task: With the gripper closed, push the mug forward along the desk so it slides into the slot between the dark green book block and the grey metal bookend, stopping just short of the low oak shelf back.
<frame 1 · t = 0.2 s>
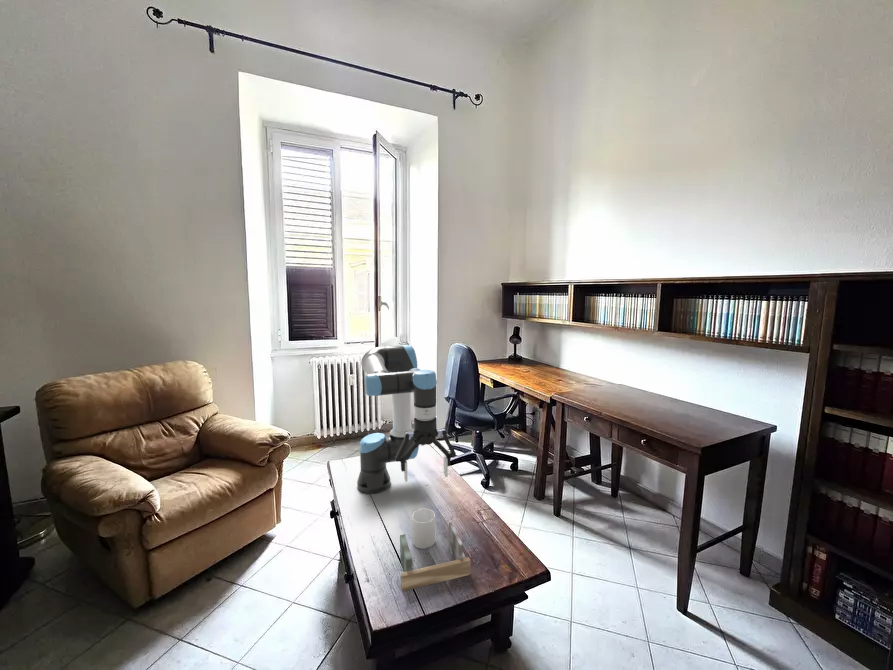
hand: (426, 477, 123), 27 cm above the table, fingers open, 13 cm apart
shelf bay: (430, 564, 120), on the table
mug: (421, 539, 133), on the table
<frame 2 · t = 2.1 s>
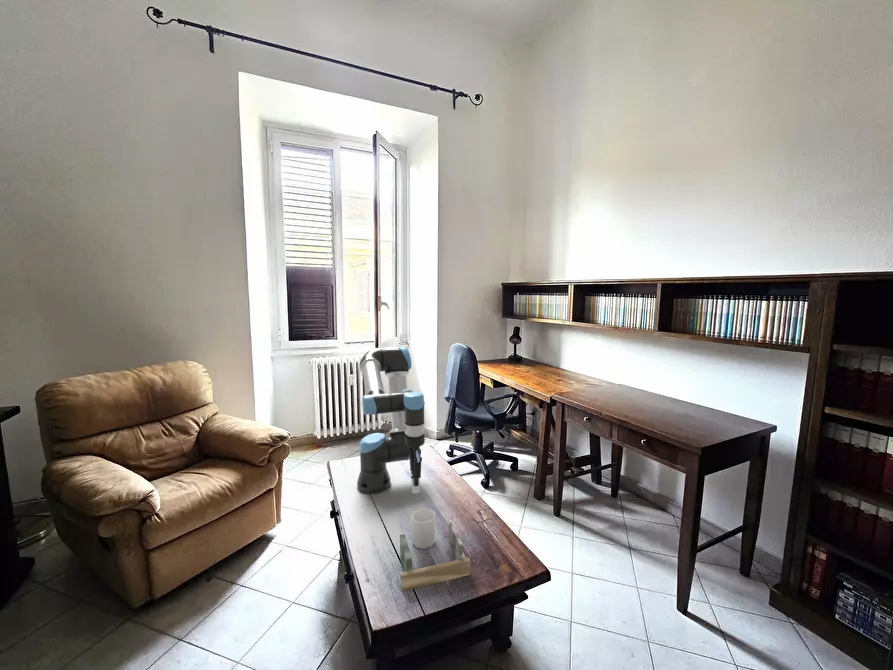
hand: (415, 492, 140), 13 cm above the table, fingers closed
nothing on the table moved.
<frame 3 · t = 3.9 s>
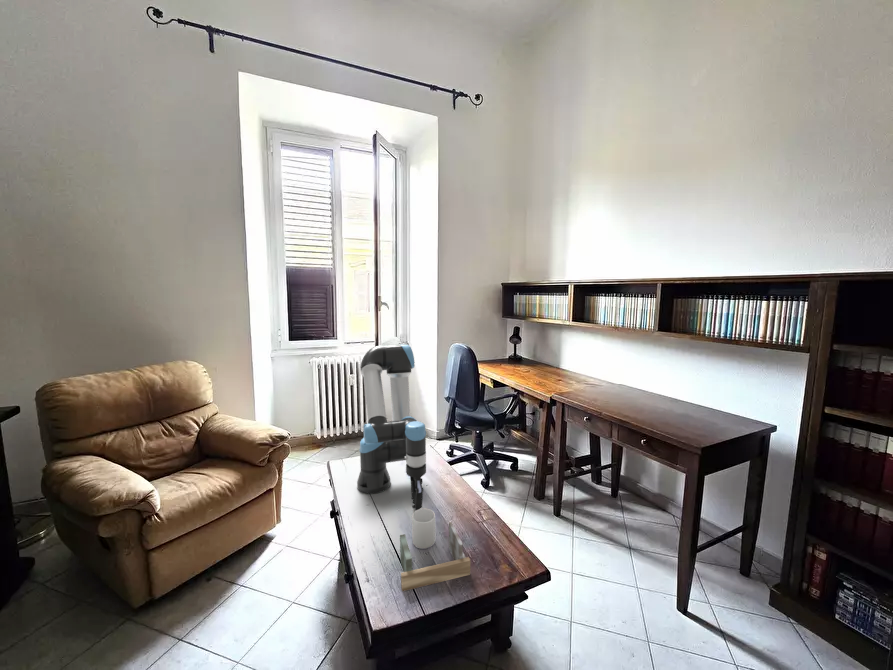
hand: (417, 520, 140), 2 cm above the table, fingers closed
mug: (421, 539, 133), on the table, touching gripper
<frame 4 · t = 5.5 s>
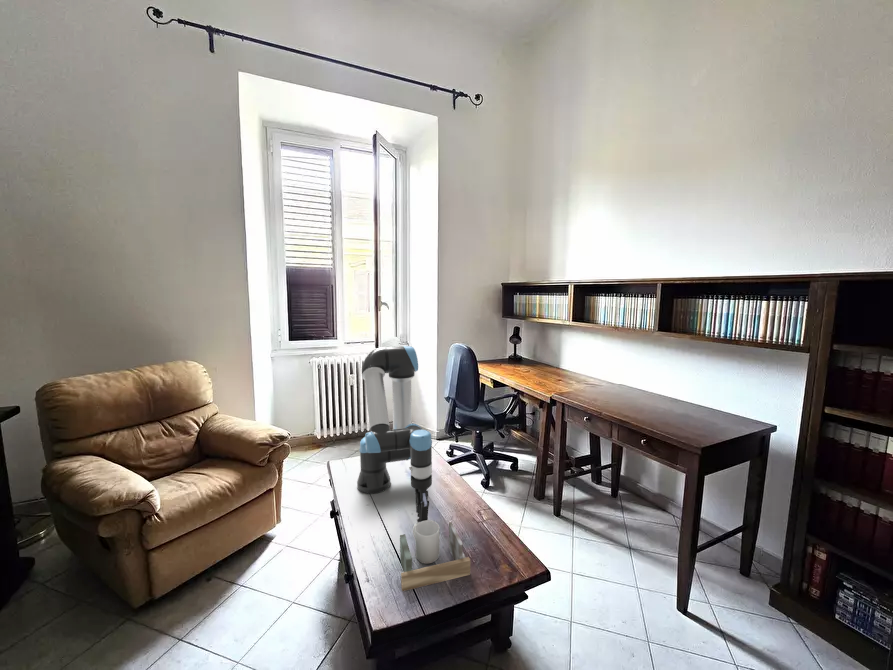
hand: (422, 535, 132), 2 cm above the table, fingers closed
mug: (424, 553, 126), on the table, touching gripper
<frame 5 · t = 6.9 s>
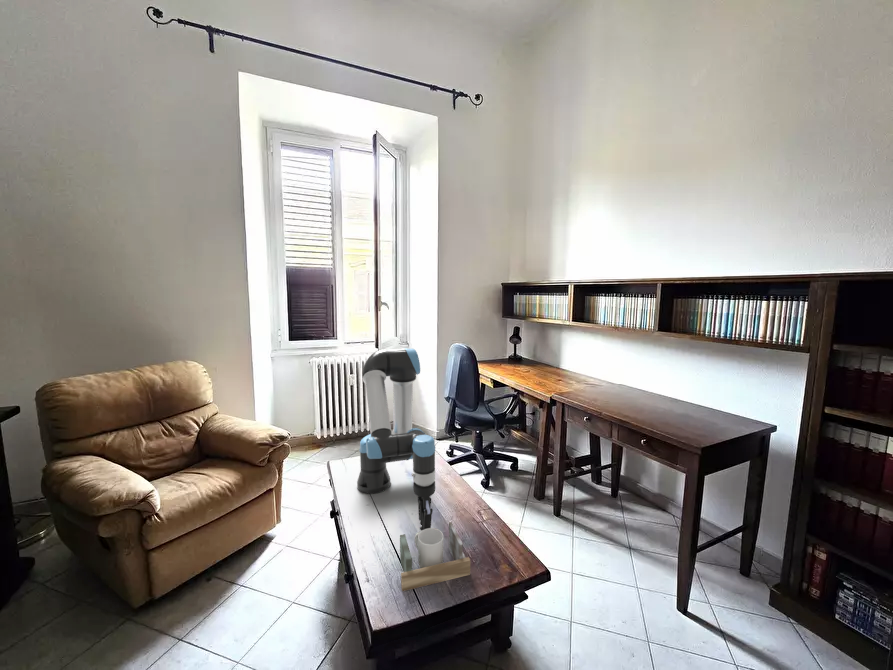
hand: (424, 543, 128), 2 cm above the table, fingers closed
mug: (427, 562, 122), on the table, touching gripper, hand
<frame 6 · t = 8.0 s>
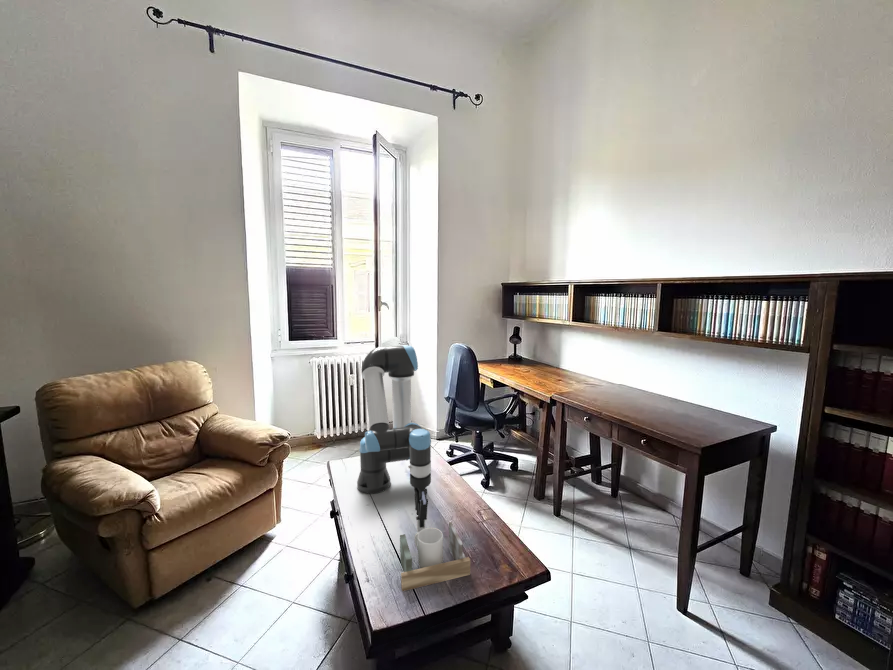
hand: (421, 532, 134), 1 cm above the table, fingers closed
mug: (427, 562, 121), on the table
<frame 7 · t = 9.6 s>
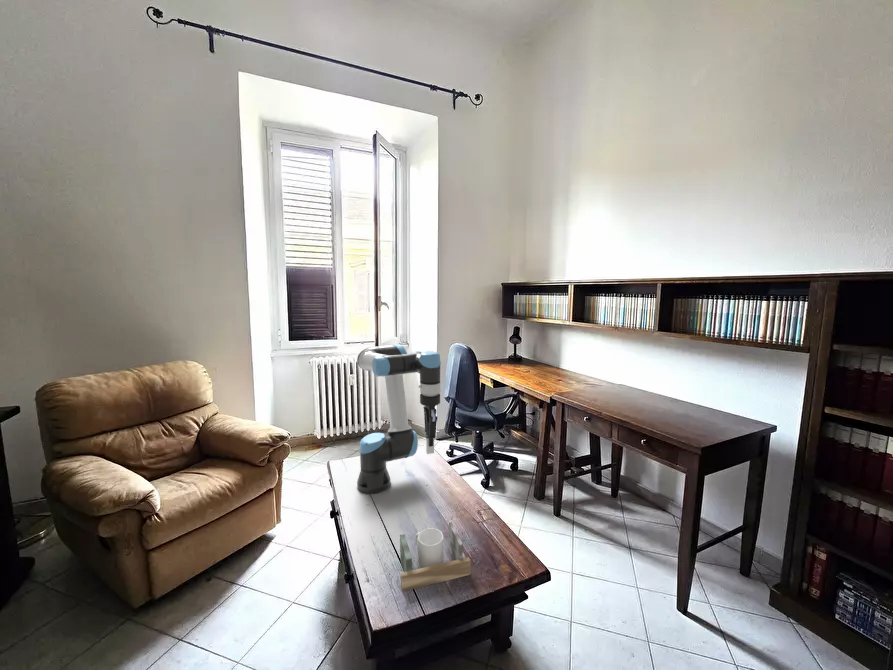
hand: (430, 452, 139), 28 cm above the table, fingers closed
nothing on the table moved.
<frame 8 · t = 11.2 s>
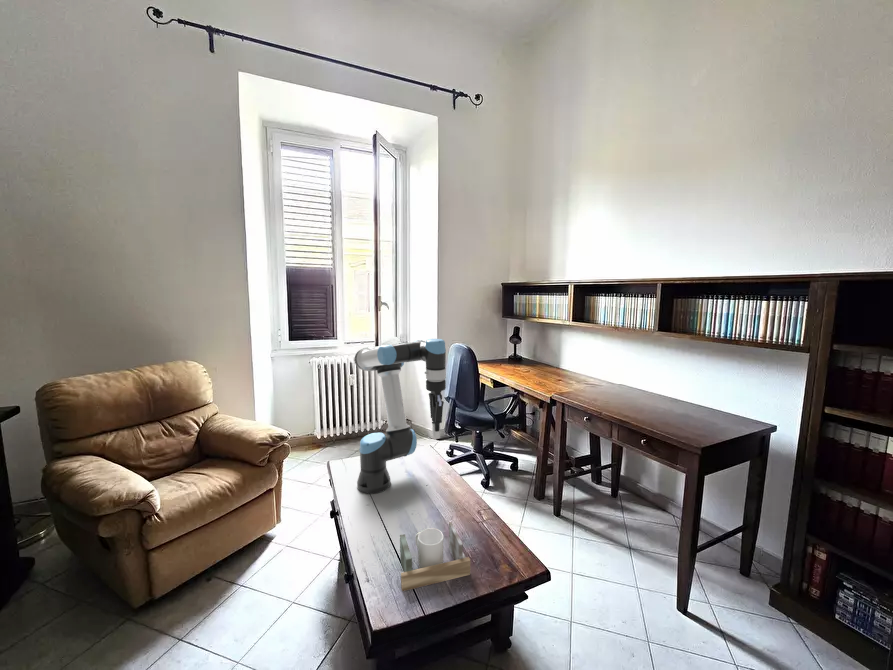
hand: (436, 437, 142), 32 cm above the table, fingers closed
nothing on the table moved.
at the end: mug inside the target area (2.6 cm from its centre), on the table; mug tilted 0°; the gripper is holding nothing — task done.
